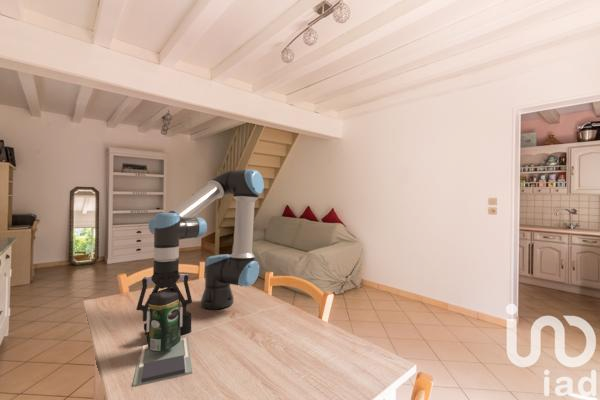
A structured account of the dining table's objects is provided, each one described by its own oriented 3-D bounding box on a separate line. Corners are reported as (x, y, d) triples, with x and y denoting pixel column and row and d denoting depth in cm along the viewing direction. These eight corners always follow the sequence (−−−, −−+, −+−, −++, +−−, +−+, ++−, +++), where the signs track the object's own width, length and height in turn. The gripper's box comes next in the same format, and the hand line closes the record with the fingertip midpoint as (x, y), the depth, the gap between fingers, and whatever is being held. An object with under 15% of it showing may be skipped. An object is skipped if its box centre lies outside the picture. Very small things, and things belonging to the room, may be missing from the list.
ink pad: (185, 358, 88) (185, 354, 88) (186, 372, 80) (186, 368, 80) (142, 367, 83) (142, 363, 83) (139, 383, 75) (139, 379, 75)
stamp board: (187, 339, 101) (187, 337, 101) (192, 373, 81) (192, 370, 81) (140, 348, 95) (140, 345, 95) (132, 387, 75) (132, 384, 75)
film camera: (176, 324, 114) (176, 299, 114) (196, 331, 108) (197, 305, 108) (131, 342, 98) (132, 314, 98) (152, 352, 92) (153, 322, 92)
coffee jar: (166, 337, 97) (167, 284, 98) (184, 341, 95) (185, 286, 95) (142, 350, 88) (143, 292, 89) (161, 355, 86) (162, 295, 86)
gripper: (199, 255, 100) (198, 317, 100) (129, 259, 91) (128, 328, 90) (202, 259, 93) (200, 326, 93) (126, 264, 84) (124, 339, 84)
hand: (164, 327), depth 92 cm, fingers closed on coffee jar, 9 cm apart
